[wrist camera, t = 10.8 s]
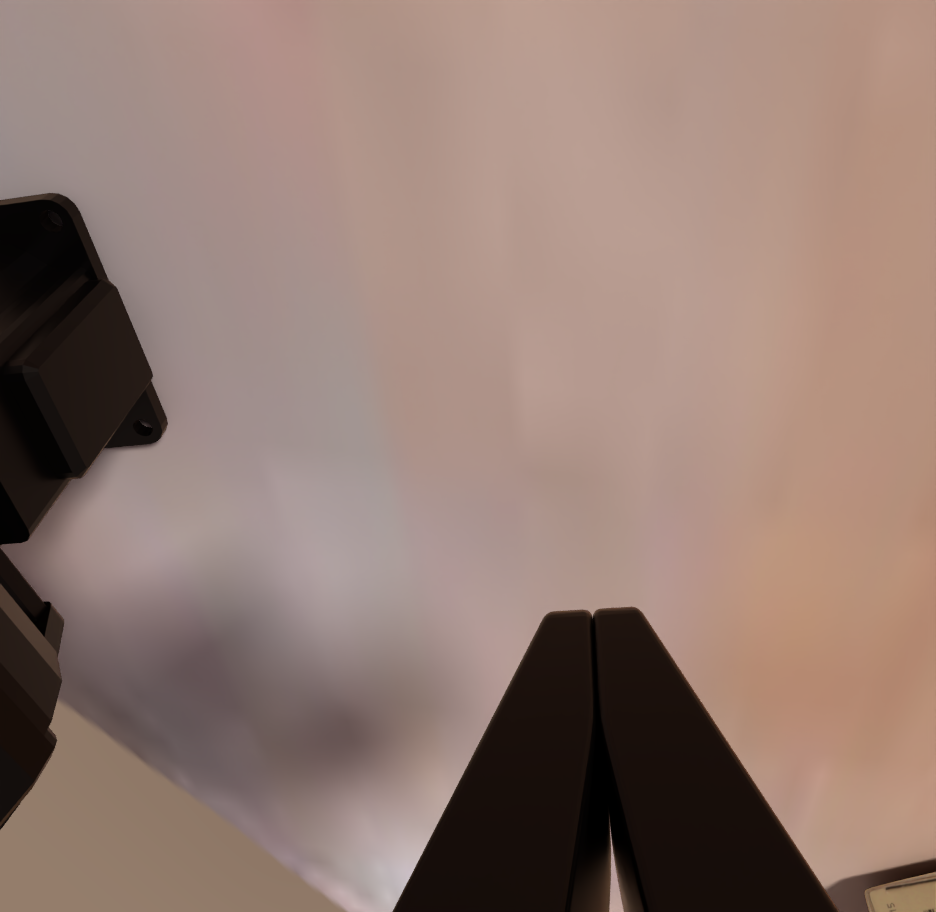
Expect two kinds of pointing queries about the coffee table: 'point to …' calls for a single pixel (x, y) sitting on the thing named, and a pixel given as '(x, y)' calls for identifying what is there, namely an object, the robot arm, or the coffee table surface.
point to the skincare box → (904, 895)
